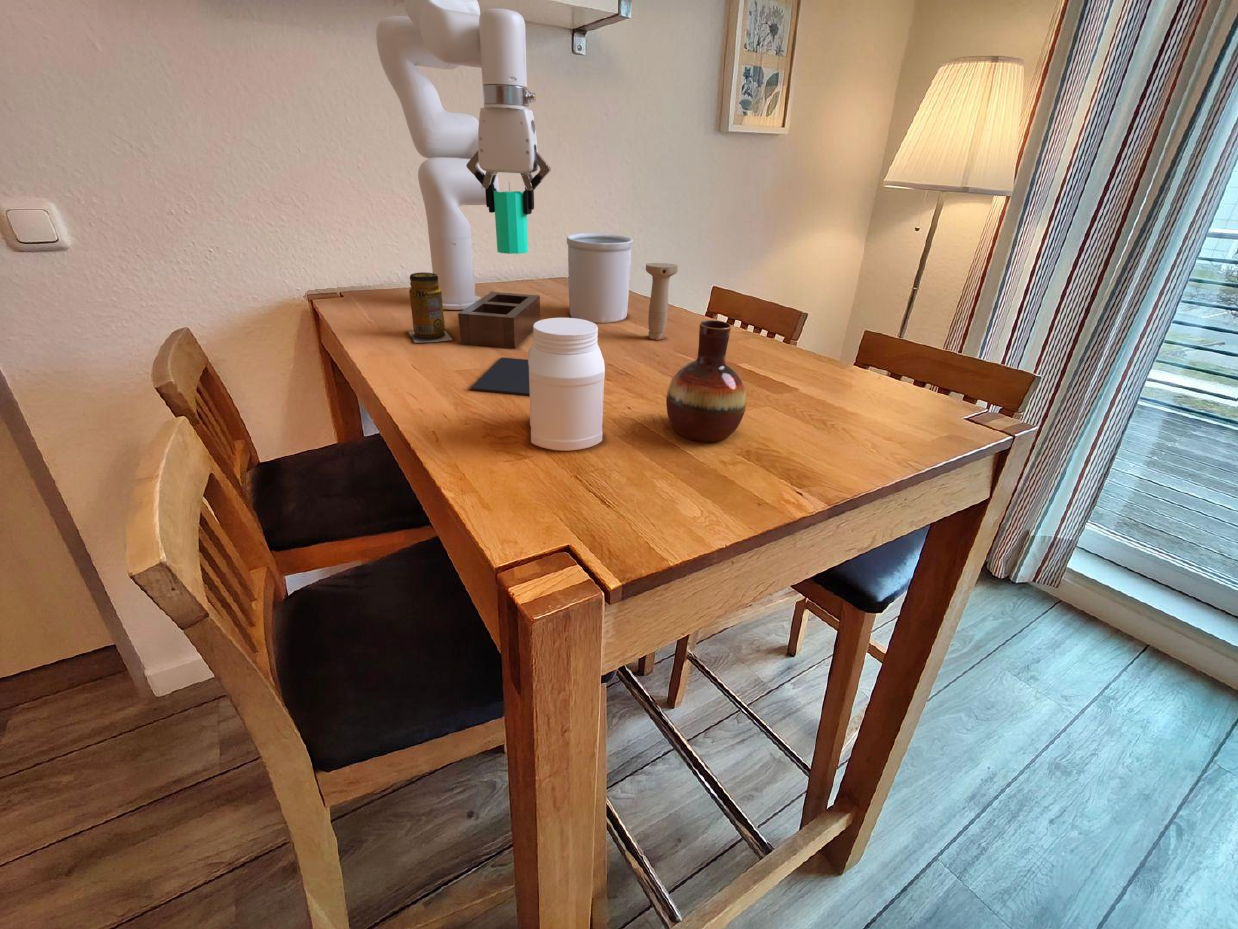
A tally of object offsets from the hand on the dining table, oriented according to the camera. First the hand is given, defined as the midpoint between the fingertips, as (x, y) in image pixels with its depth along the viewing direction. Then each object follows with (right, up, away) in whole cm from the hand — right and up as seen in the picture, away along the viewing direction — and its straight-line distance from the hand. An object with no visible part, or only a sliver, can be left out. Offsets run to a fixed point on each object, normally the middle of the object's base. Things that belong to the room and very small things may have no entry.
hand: (510, 211), depth 109 cm
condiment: (-18, -22, +9) cm, 29 cm away
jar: (+13, -43, -28) cm, 53 cm away
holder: (-4, -19, +14) cm, 24 cm away
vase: (+32, -43, -25) cm, 59 cm away
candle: (0, -6, +3) cm, 7 cm away
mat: (+6, -33, -9) cm, 34 cm away
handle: (+28, -21, +15) cm, 38 cm away
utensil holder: (+15, -12, +30) cm, 36 cm away
